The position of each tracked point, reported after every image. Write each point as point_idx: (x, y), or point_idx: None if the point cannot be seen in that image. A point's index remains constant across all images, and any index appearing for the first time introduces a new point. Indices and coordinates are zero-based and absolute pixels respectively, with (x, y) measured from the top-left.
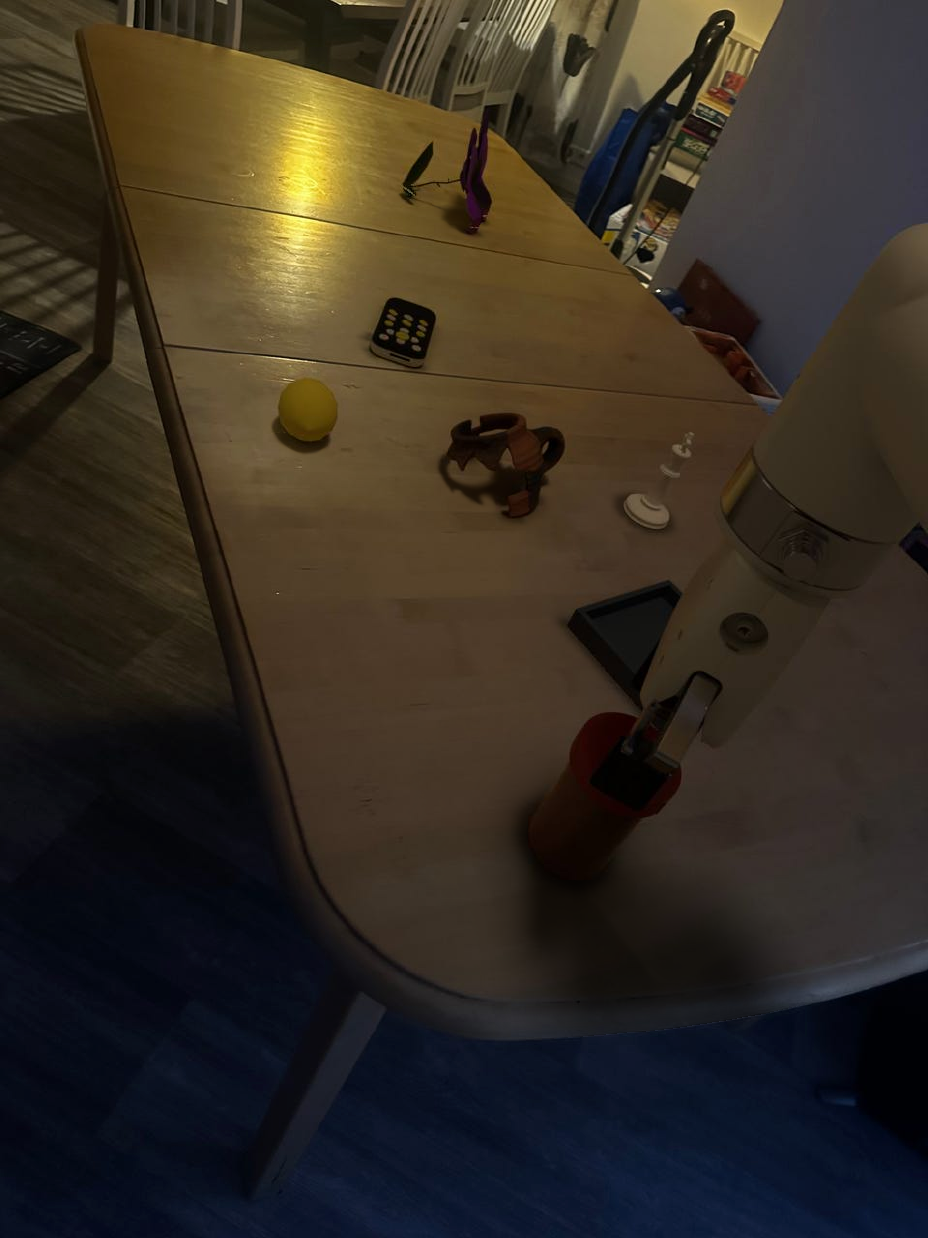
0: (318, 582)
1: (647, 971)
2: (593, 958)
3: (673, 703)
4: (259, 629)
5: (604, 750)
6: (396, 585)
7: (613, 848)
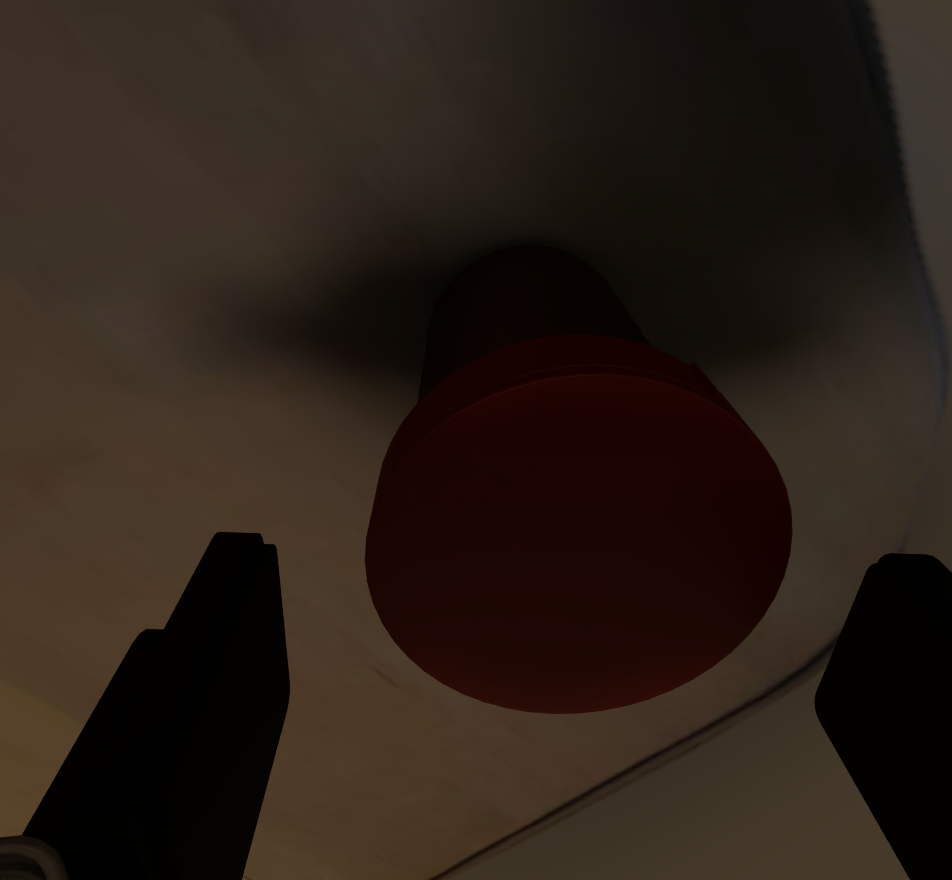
0: (259, 860)
1: (790, 55)
2: (798, 207)
3: (268, 576)
4: (416, 870)
5: (608, 645)
6: None
7: (629, 317)
